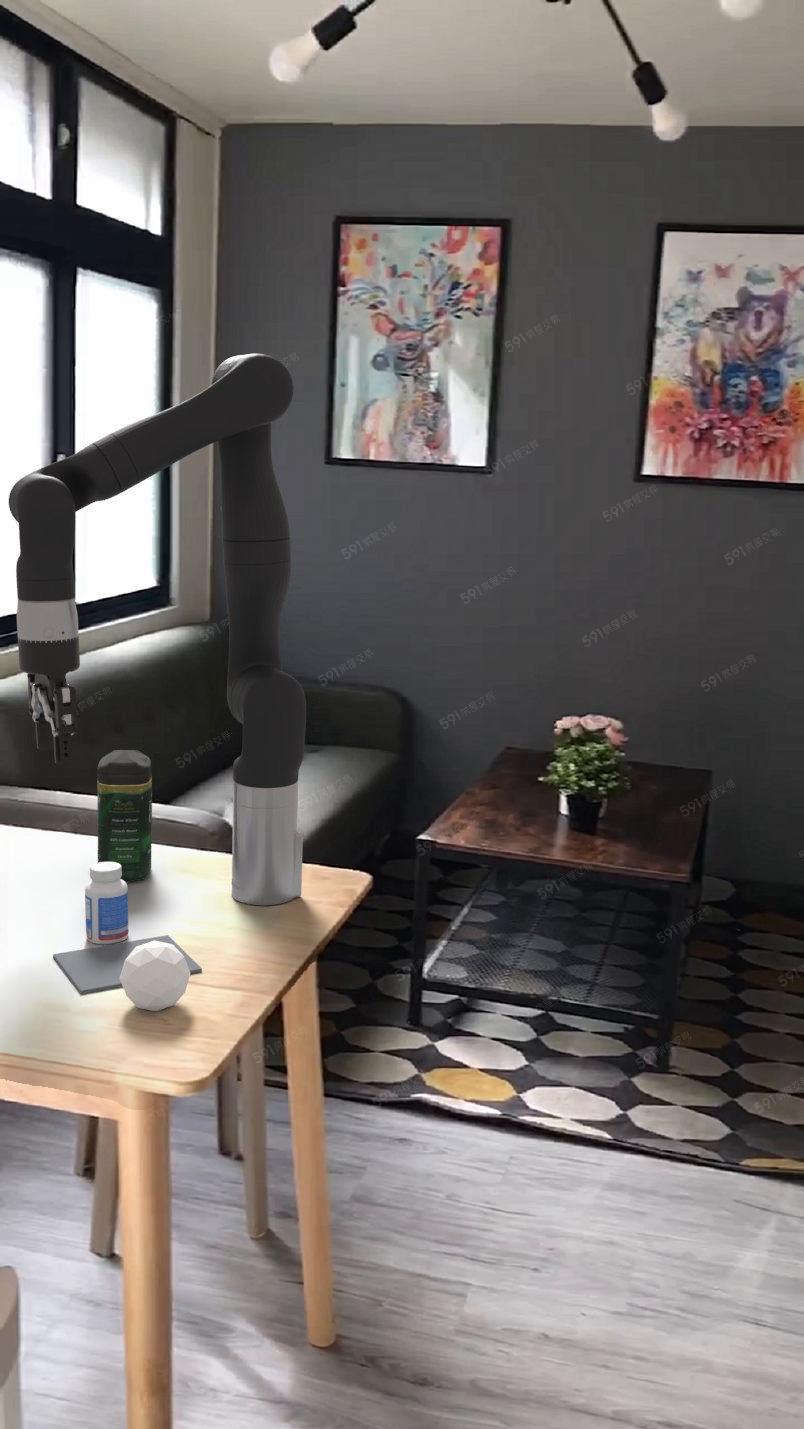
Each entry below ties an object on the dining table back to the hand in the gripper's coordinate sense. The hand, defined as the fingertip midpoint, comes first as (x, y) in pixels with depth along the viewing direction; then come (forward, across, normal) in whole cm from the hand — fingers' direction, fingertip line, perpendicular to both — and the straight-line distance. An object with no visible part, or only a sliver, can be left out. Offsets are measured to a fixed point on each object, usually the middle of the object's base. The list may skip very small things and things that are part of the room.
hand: (54, 756), depth 164 cm
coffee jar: (+24, +15, -14) cm, 31 cm away
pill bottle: (+23, -8, -3) cm, 25 cm away
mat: (+23, -18, -3) cm, 29 cm away
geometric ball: (+23, -30, -2) cm, 38 cm away
